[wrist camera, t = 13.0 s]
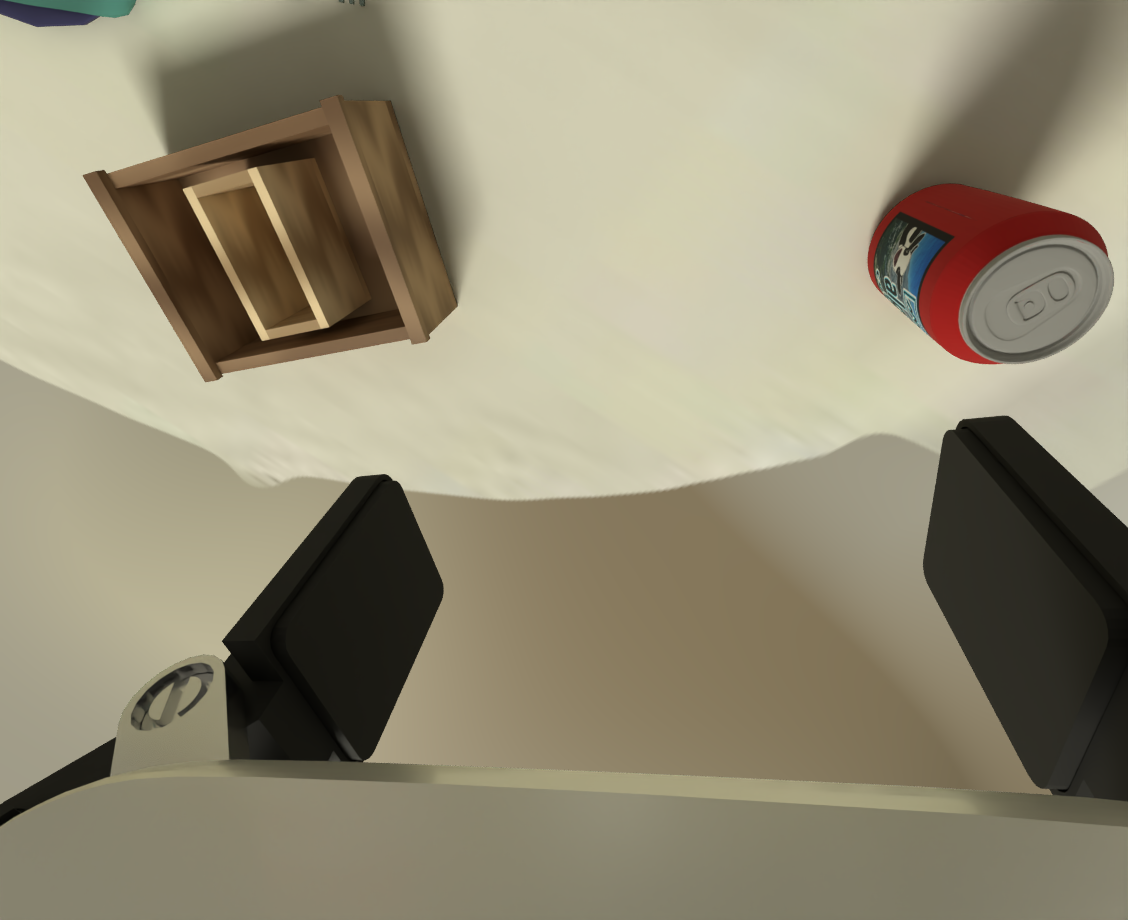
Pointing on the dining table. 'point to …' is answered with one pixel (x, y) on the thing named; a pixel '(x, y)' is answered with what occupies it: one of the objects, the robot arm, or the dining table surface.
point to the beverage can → (991, 273)
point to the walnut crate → (363, 204)
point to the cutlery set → (69, 10)
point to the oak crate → (281, 246)
